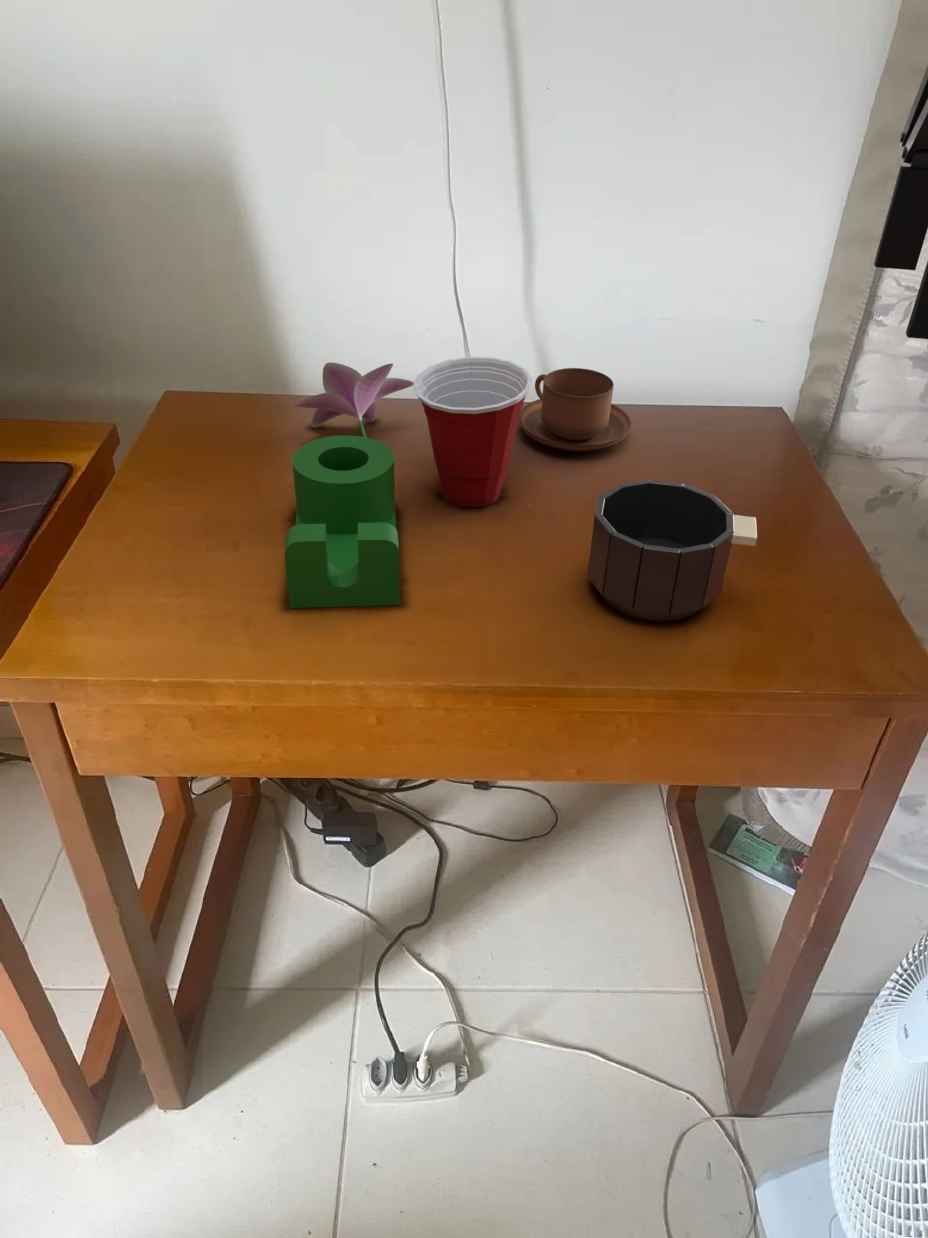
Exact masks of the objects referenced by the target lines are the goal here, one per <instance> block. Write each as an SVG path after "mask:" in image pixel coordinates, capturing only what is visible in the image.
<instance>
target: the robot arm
mask: <svg viewBox="0 0 928 1238" xmlns="http://www.w3.org/2000/svg"><path fill="white" fill-rule="evenodd" d="M898 141H899V147H900V148H902V150H901V154H900V158H901V164H906V166H905V165H904V166H903V165H900V167H899V171H898V174H897V178H896V181H895V185H894V189H893V193H892V196H891V199H890V202H889V208H888V211H887V214H886V218H885V222H884V226H883V228H882V229H883V230H882V233H881V237H880V240H879V243H878V247H877V251H876V254H875V255H876V256H875V258H874V261H873V265H874V268H879V269H880V268H881V269H893V270H904V271H906V270H907V271H916V270H917V266H918V262H919V259H920V256H921V252H922V249H923V246H924V242H925V239H926V236H927V232H928V65H927V66H926V68H925V71H924V74H923V77H922V79H921V82H920V84H919V87H918V90H917V92H916V95H915V98H914V100H913V103H912V106H911V109H910V111H909V114H908V116H907V119H906V121H905V124H904V127H903V129H902V133H900V134H899V138H898ZM905 335H906V337H907V338H909V339H910V338H911V339H918V340H919V339H921V340H928V260H927V262H926V265H925V268H924V271H923V275H922V278H921V281H920V284H919V288H918V291H917V294H916V297H915V301H914V303H913V308H912V310H911V314H910V317H909V320H908V324H907V328H906V331H905Z"/></svg>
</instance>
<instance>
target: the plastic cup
mask: <svg viewBox="0 0 928 1238" xmlns="http://www.w3.org/2000/svg"><path fill="white" fill-rule="evenodd" d="M532 380H533V377H532V376H531V375H530V373H529V371H528V370H527V368H525V367H523V366H522V365H520V364H517V363H516V362H514V361H512V360H507V359H502V358H498V357H493V356H466V357H458V358H452V359H447V360H444V361H441V362H439V363H435V364H433V365H430V366H428V367H427V368H426V369H424V370H422V371H421V372H420V373H419V374H417V375H416V377H415V379H414V381H413V382H414V384H413V386H412V388H413V390H414V392H415V394H416V397H417V399H418V401H420V402H421V405H422V408H423V411H424V414H425V417H426V421H427V426H428V427H427V428H428V432H429V437H430V442H431V448H432V452H433V459H434V463H435V465H436V469H437V470H436V471H437V476H438V482H439V487H440V490H441V494H442V495H443V498H444V499H445V500H447V502H449V503H450V504H452V505H455V506H459V507H463V508H483V507H486V506H489V505H491V504H494V503H495V502H496V501H497V500H498V499H499V498H500V495H501V493H502V490H503V486H504V483H505V482H504V481H505V477H506V474H507V470H508V468H509V463H510V460H511V455H512V451H513V446H514V442H515V437H516V432H517V427H518V424H519V418H520V414H521V410H522V409H523V408H524V407H523V406H524V403H525V400H526V397H527V395H528V394H530V390H531V385H532Z"/></svg>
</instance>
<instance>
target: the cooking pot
mask: <svg viewBox="0 0 928 1238" xmlns="http://www.w3.org/2000/svg"><path fill="white" fill-rule="evenodd" d="M596 501H597V502H596V506H595V512H594V518H593V525H592V535H591V543H590V549H589V550H590V551H589V558H588V567H587V573H586V574H587V577H588V579H589V580H590V582H591V583H592V584H593V586H594V587H595V588H596V589H597V591H598V592H599V594H600V595H601V596H602V595H603V596H604V597H606V598H608V599H610V600H612V601H614V602H616V603H618V604H620V605H622V606H624V607H626V608H628V609H630V610H632V609H633V610H634V611H640V612H647V613H655V614H662V615H669V614H670V615H674V614H680V613H685V612H690V611H695V610H698V611H700V610H702V609H704V608H705V607H706V606H708V605H709V604H710V603H711V602H712V601H713V600H715V599H716V598H717V597H718V596H719V595H720V594H721V592H722V587H723V583H724V578H725V574H726V570H727V565H728V561H729V557H730V552H731V548H732V545H733V544H734V545H740V546H750V547H756V544H757V540H758V532H757V531H758V530H757V517H756V516H755V517H754V516H748V515H747V516H745V515H738V514H734V513H733V511H731V510H730V509H729V508H728V507H727V506H726V505H725V504H724V503H723V502H722V500H720V499H719V498H718V497H717V496H715V495H713V494H712V493H709V492H706V491H703V490H702V489H699V488H696V487H693V486H691V485H689V484H687V483H686V484H684V483H680V482H674V481H666V480H665V481H664V480H657V479H656V480H655V479H644V480H638V481H631V482H625V483H623V482H622V483H619V484H616V485H614V486H613V487H612V488H610V489H609V490H606V491H605V492H603V493H601V494H600V495H599V496H598V497H597V500H596ZM603 596H602V597H603Z"/></svg>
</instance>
